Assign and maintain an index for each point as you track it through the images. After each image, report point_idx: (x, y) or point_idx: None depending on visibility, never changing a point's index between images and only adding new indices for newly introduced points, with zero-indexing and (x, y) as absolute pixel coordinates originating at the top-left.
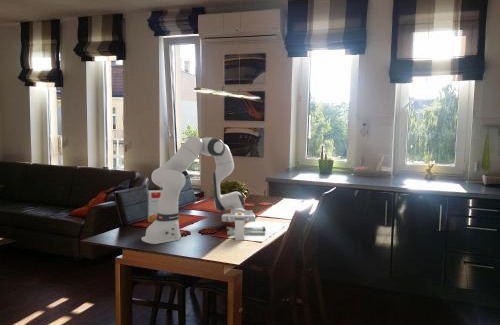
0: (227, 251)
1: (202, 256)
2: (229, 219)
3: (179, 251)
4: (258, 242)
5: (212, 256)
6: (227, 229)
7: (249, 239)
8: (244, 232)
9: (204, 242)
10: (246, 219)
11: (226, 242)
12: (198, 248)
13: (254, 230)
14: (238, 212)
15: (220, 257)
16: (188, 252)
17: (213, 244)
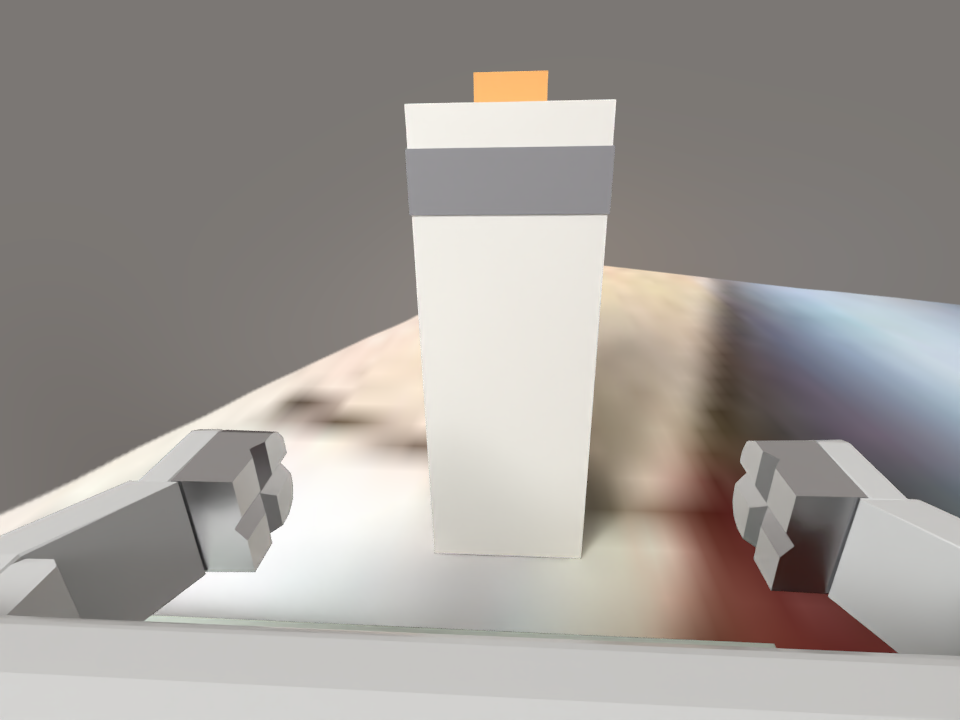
0: (600, 307)
1: (726, 280)
2: (901, 528)
3: (929, 310)
4: (322, 398)
5: (670, 280)
6: None
7: (380, 464)
8: (382, 628)
9: (898, 410)
10: (250, 432)
11: (652, 405)
12: (835, 333)
13: None
14: (534, 71)
15: (623, 276)
16: (851, 303)
17: (763, 376)
